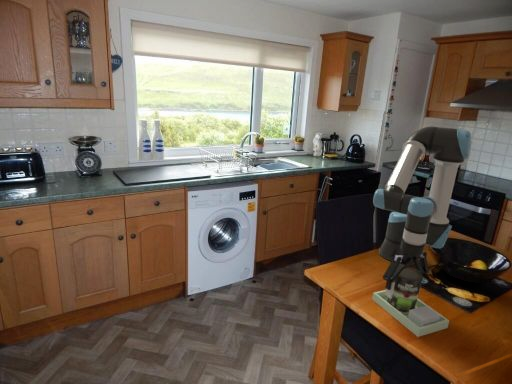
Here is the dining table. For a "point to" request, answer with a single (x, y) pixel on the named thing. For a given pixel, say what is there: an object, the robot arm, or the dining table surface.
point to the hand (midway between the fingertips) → (402, 293)
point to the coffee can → (406, 290)
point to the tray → (403, 318)
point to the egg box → (423, 316)
